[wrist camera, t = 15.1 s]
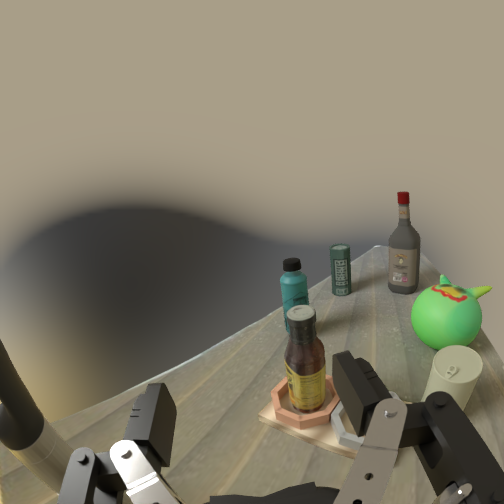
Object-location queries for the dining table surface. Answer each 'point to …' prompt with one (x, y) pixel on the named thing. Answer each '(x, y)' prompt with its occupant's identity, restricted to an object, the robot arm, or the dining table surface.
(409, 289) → the liquor
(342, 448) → the board
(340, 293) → the can
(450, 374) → the can
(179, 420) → the dining table surface
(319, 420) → the collar terracotta
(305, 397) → the sauce bottle
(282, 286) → the beverage bottle
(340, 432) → the collar grey
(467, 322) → the green horned round ornament
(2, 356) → the robot arm
